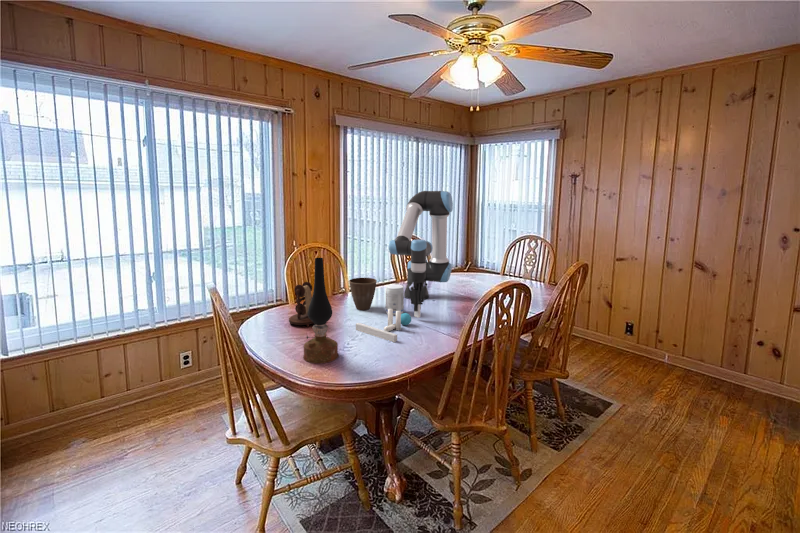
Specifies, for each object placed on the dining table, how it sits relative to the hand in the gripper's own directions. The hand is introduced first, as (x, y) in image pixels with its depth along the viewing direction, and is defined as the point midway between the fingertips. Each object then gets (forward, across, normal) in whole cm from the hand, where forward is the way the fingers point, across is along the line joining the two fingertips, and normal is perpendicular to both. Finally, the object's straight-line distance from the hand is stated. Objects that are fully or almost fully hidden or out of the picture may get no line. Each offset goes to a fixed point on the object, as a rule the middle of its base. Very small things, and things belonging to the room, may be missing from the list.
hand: (417, 316), depth 211 cm
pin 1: (+2, +18, -2) cm, 18 cm away
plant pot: (+2, +4, -35) cm, 35 cm away
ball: (-1, +10, 0) cm, 10 cm away
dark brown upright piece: (+2, +41, -38) cm, 56 cm away
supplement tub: (+2, -2, -17) cm, 17 cm away
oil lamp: (+2, +62, +1) cm, 62 cm away
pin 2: (+2, +18, +2) cm, 18 cm away
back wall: (+2, +30, 0) cm, 30 cm away
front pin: (+1, +14, 0) cm, 14 cm away
